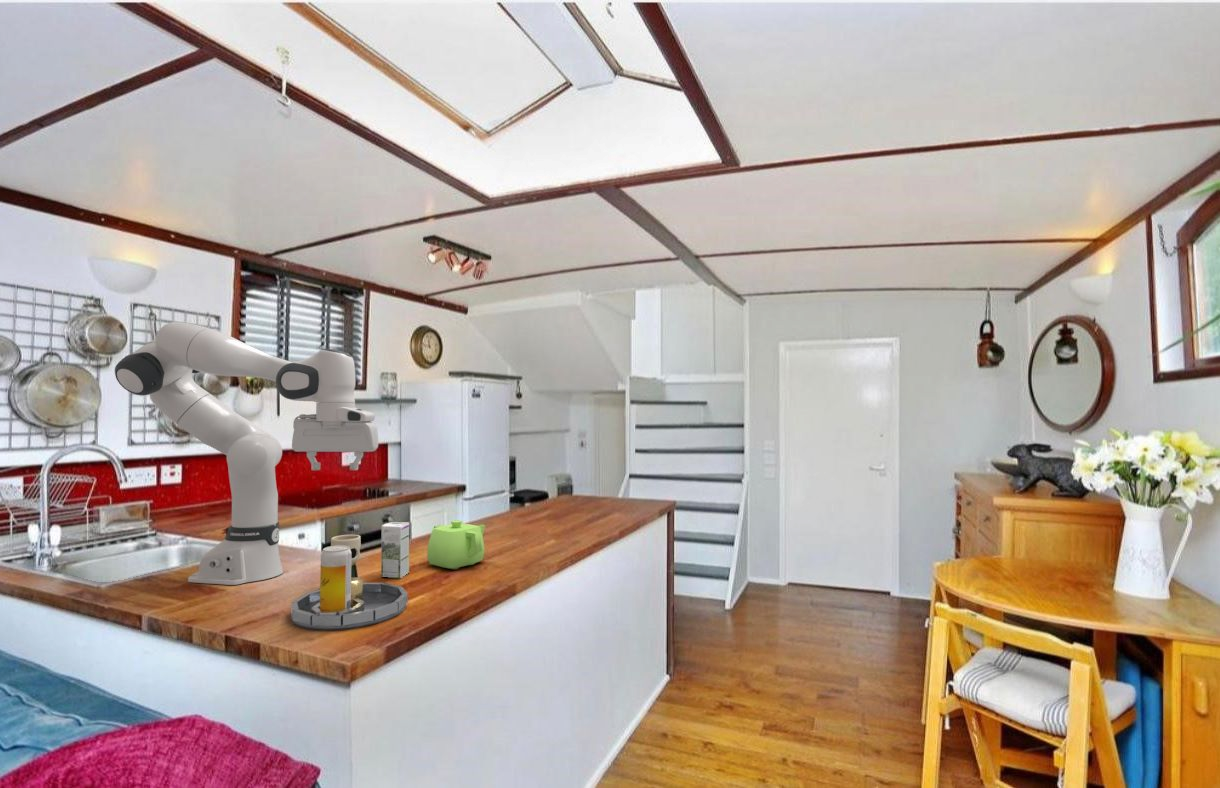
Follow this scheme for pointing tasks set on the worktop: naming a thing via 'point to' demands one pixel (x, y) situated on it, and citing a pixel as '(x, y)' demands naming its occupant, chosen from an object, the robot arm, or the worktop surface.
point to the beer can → (335, 578)
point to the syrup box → (395, 550)
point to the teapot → (456, 545)
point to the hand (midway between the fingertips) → (335, 470)
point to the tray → (366, 607)
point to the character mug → (354, 545)
